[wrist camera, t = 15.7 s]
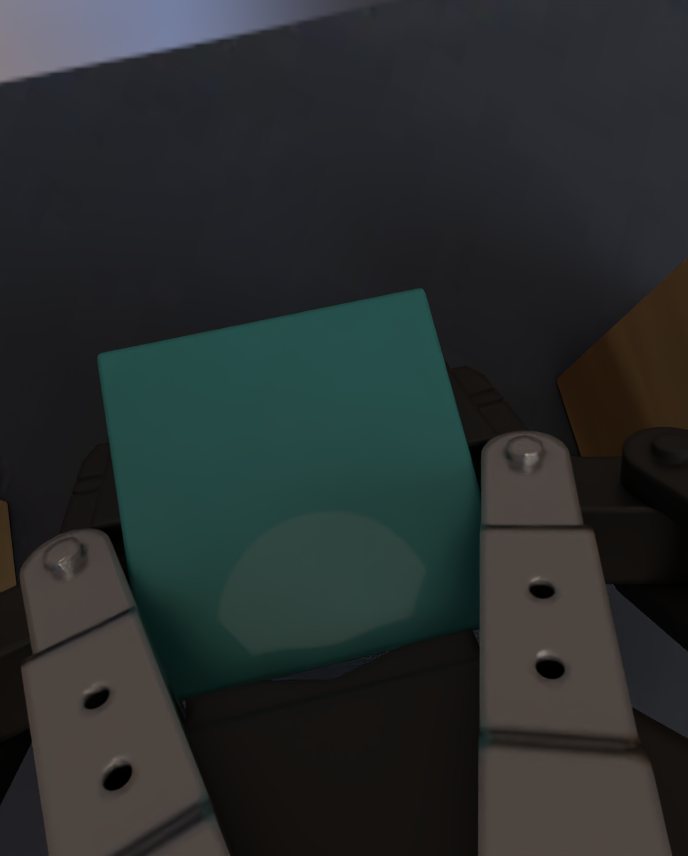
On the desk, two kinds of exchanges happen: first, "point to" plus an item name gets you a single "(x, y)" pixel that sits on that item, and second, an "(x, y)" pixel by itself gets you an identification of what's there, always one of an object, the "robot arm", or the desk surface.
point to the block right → (633, 373)
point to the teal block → (293, 491)
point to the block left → (6, 550)
